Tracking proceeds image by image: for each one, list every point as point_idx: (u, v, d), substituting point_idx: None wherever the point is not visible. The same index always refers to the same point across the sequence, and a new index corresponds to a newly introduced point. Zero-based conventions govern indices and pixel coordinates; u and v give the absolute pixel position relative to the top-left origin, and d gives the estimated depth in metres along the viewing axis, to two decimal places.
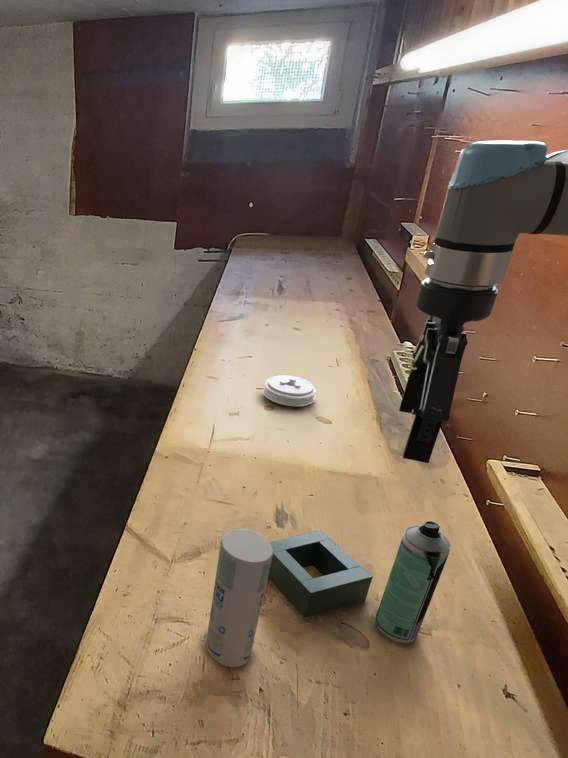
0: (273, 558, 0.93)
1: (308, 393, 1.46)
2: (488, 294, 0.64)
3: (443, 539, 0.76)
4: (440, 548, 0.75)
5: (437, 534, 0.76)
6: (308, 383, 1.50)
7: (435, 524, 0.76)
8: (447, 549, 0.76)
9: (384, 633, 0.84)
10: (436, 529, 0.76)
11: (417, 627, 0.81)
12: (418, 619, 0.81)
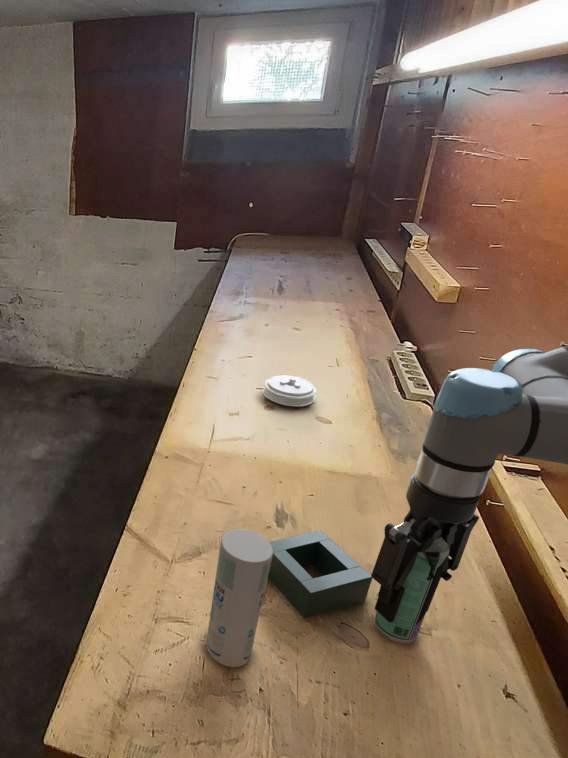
0: (273, 558, 0.93)
1: (308, 393, 1.46)
2: (447, 501, 0.71)
3: (443, 539, 0.76)
4: (440, 549, 0.75)
5: None
6: (308, 383, 1.50)
7: None
8: (447, 549, 0.76)
9: (384, 633, 0.84)
10: None
11: (417, 627, 0.81)
12: (418, 619, 0.81)
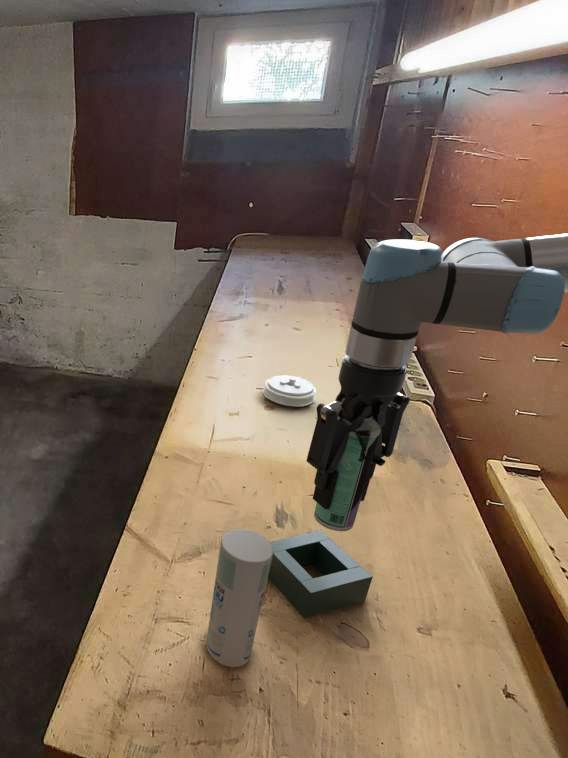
0: (273, 558, 0.93)
1: (308, 393, 1.46)
2: (373, 373, 0.72)
3: (374, 420, 0.78)
4: (370, 427, 0.77)
5: None
6: (308, 383, 1.50)
7: None
8: (377, 428, 0.77)
9: (322, 523, 0.85)
10: None
11: (352, 514, 0.83)
12: (352, 504, 0.82)
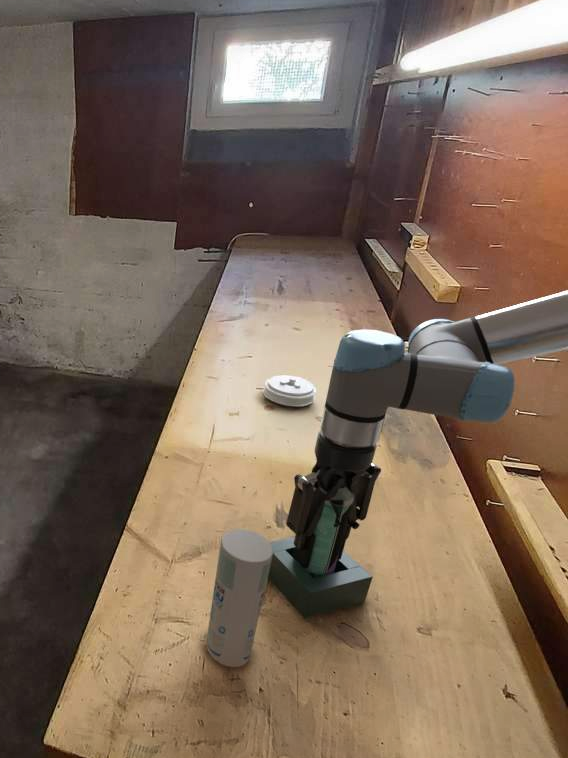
0: (273, 558, 0.93)
1: (308, 393, 1.46)
2: (345, 450, 0.78)
3: (347, 489, 0.84)
4: (344, 497, 0.83)
5: None
6: (308, 383, 1.50)
7: None
8: (350, 497, 0.83)
9: None
10: None
11: (329, 572, 0.89)
12: (329, 564, 0.88)
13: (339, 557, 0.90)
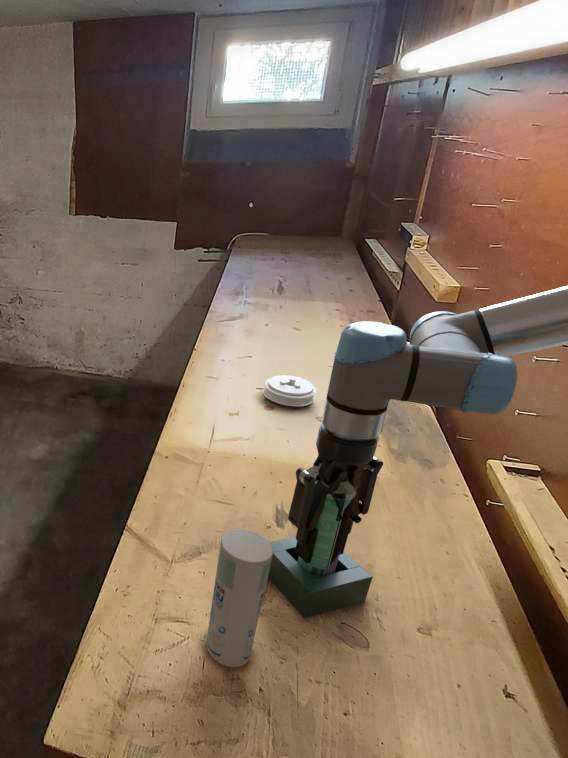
0: (273, 558, 0.93)
1: (308, 393, 1.46)
2: (347, 443, 0.78)
3: (349, 483, 0.83)
4: (346, 491, 0.82)
5: None
6: (308, 383, 1.50)
7: None
8: (352, 491, 0.82)
9: None
10: None
11: (331, 567, 0.88)
12: (331, 559, 0.87)
13: (341, 552, 0.90)
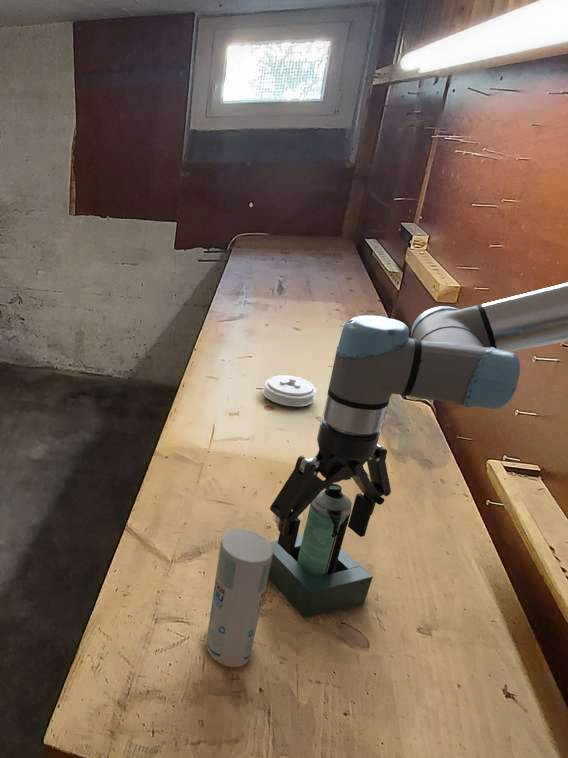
0: (273, 558, 0.93)
1: (308, 393, 1.46)
2: (348, 438, 0.77)
3: (345, 500, 0.85)
4: (341, 508, 0.84)
5: (339, 495, 0.84)
6: (308, 383, 1.50)
7: (338, 486, 0.85)
8: (348, 508, 0.84)
9: None
10: (338, 490, 0.84)
11: None
12: (327, 574, 0.89)
13: (363, 534, 0.89)
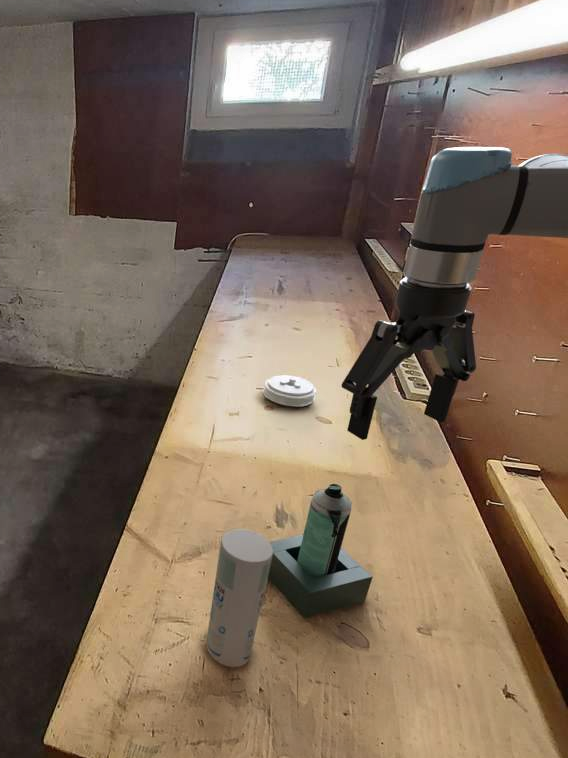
0: (273, 558, 0.93)
1: (308, 393, 1.46)
2: (437, 291, 0.68)
3: (345, 500, 0.85)
4: (341, 508, 0.84)
5: (339, 495, 0.84)
6: (308, 383, 1.50)
7: (338, 486, 0.85)
8: (348, 508, 0.84)
9: None
10: (338, 490, 0.84)
11: None
12: (327, 574, 0.89)
13: (443, 419, 0.80)
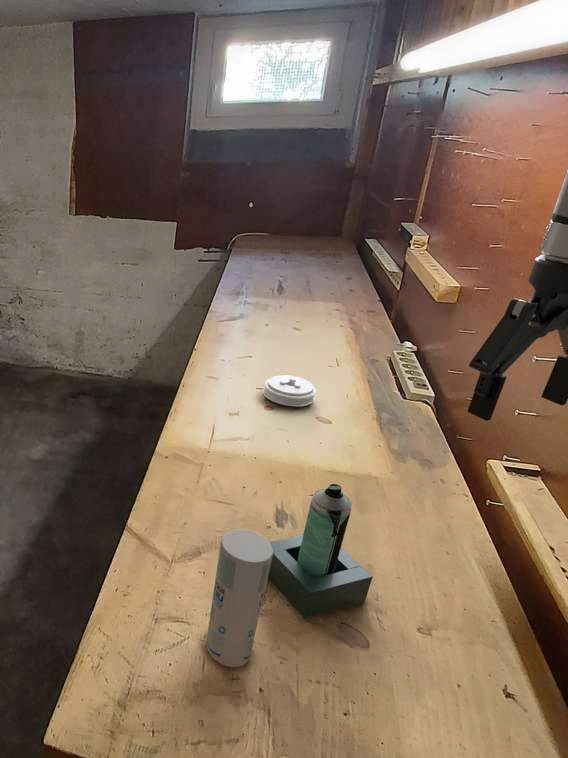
0: (273, 558, 0.93)
1: (308, 393, 1.46)
2: None
3: (345, 499, 0.85)
4: (341, 508, 0.84)
5: (339, 495, 0.84)
6: (308, 383, 1.50)
7: (338, 486, 0.85)
8: (348, 508, 0.84)
9: None
10: (338, 490, 0.84)
11: None
12: (327, 574, 0.89)
13: (564, 402, 0.79)
